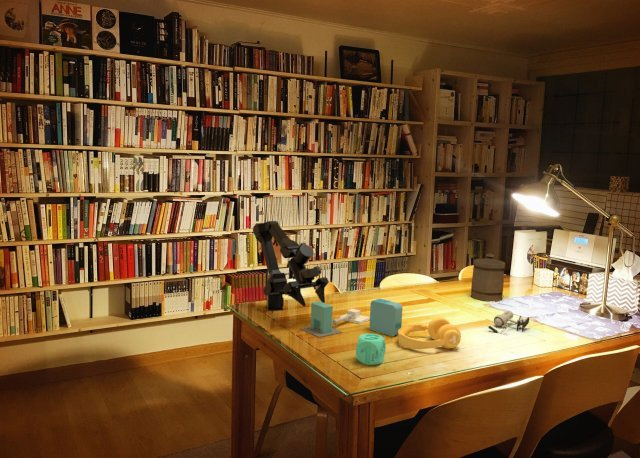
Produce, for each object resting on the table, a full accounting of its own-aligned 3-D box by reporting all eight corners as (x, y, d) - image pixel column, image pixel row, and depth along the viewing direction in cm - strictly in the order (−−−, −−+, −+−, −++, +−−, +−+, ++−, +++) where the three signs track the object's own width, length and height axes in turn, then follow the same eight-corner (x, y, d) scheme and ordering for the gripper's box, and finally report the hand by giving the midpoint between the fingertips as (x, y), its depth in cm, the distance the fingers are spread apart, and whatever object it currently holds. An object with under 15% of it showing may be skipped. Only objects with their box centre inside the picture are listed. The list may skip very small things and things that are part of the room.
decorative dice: (355, 362, 180) (356, 339, 179) (362, 354, 188) (363, 332, 187) (378, 367, 178) (380, 343, 176) (385, 358, 185) (386, 335, 184)
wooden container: (505, 297, 274) (509, 253, 271) (497, 303, 261) (501, 257, 258) (475, 292, 281) (479, 249, 278) (466, 298, 269) (470, 253, 266)
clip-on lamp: (508, 344, 213) (531, 326, 224) (509, 330, 211) (532, 312, 222) (481, 333, 221) (505, 316, 233) (482, 319, 219) (505, 303, 230)
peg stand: (323, 325, 218) (324, 315, 217) (349, 314, 234) (349, 305, 233) (345, 330, 212) (345, 320, 212) (370, 319, 228) (370, 310, 228)
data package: (401, 334, 210) (403, 304, 209) (394, 337, 207) (395, 306, 205) (376, 327, 218) (377, 297, 217) (369, 329, 215) (370, 299, 213)
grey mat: (300, 328, 213) (300, 327, 213) (322, 324, 220) (322, 323, 220) (318, 337, 204) (319, 336, 203) (342, 332, 210) (342, 331, 210)
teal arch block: (310, 327, 213) (311, 302, 212) (318, 326, 216) (319, 301, 215) (323, 333, 207) (324, 307, 206) (331, 331, 210) (332, 306, 208)
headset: (391, 336, 207) (393, 313, 206) (443, 336, 212) (446, 313, 210) (407, 354, 190) (409, 328, 189) (464, 354, 194) (467, 328, 193)
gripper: (288, 261, 210) (304, 296, 203) (327, 257, 221) (343, 290, 214) (276, 277, 217) (291, 311, 210) (314, 272, 229) (329, 305, 222)
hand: (314, 304), depth 214 cm, fingers open, 9 cm apart
